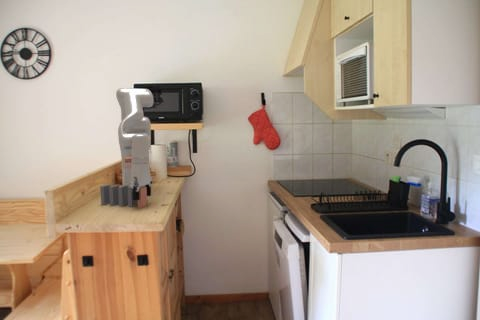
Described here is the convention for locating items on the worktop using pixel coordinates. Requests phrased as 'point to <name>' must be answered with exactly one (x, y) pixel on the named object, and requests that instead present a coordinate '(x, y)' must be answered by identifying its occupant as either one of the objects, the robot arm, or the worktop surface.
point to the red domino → (142, 197)
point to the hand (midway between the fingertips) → (142, 197)
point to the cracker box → (127, 171)
